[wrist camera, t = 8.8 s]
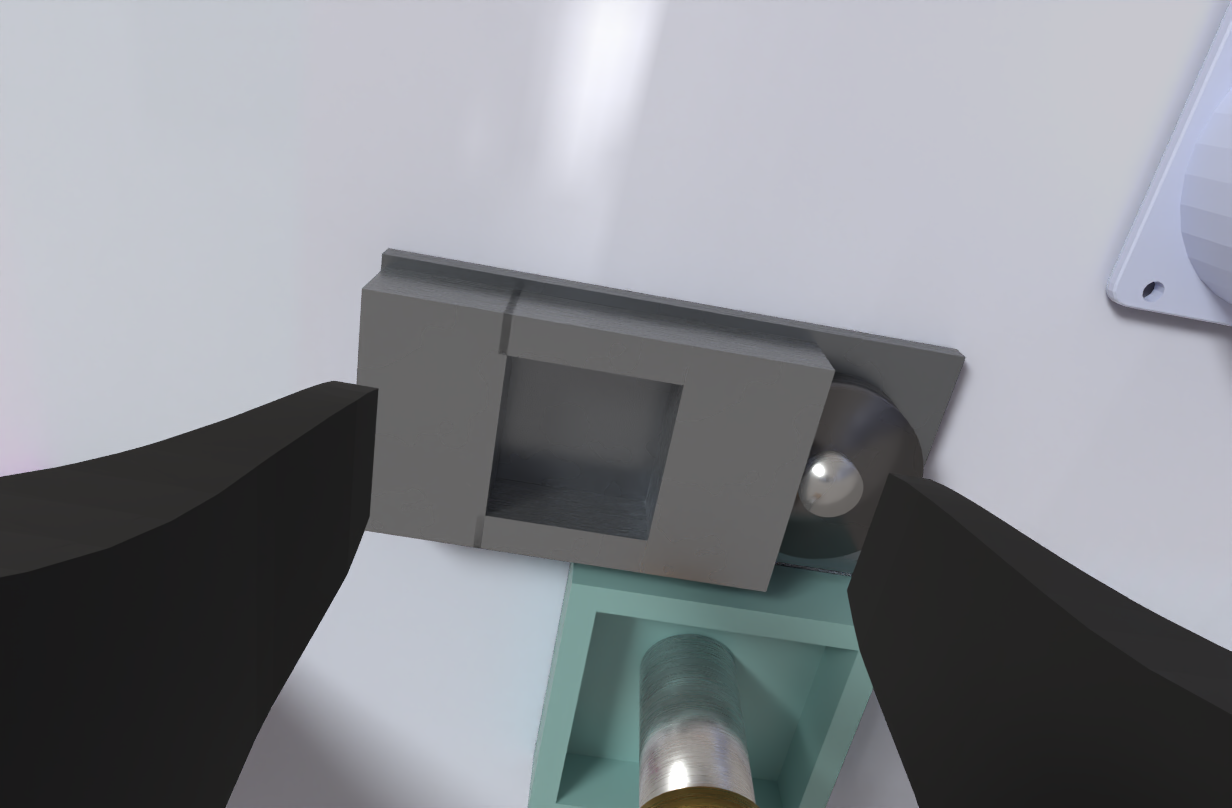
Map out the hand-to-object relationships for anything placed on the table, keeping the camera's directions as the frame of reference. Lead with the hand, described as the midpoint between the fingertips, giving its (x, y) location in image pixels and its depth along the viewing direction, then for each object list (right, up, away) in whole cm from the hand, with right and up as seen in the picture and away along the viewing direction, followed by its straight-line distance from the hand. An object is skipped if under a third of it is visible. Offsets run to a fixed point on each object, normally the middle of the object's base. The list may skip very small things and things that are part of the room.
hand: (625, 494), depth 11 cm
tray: (+2, -7, +15) cm, 17 cm away
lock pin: (+2, -7, +14) cm, 16 cm away
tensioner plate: (+1, +1, +11) cm, 11 cm away
